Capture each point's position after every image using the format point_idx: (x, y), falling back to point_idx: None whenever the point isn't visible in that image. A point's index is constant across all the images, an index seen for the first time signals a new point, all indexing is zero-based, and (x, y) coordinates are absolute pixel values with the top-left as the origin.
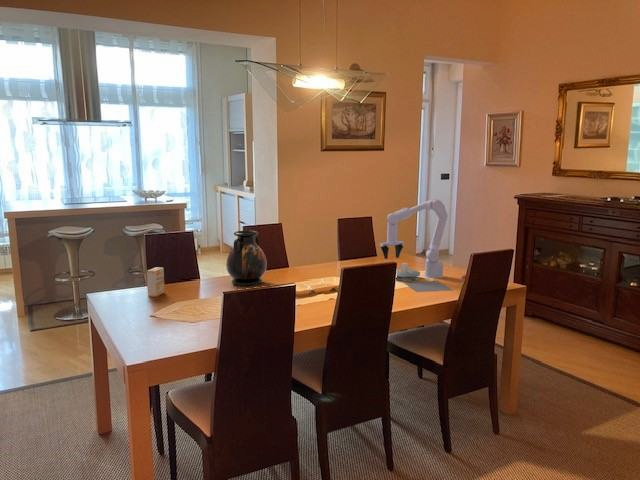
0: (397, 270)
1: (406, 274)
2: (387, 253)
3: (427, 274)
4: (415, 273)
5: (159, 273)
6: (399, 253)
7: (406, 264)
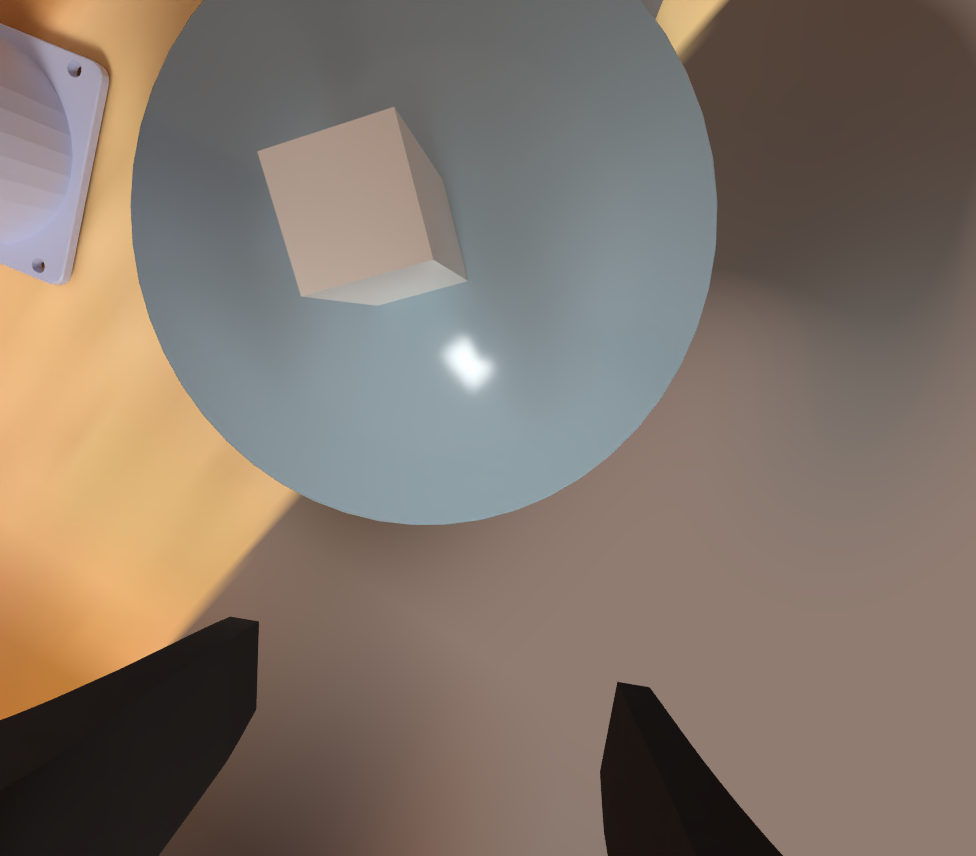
0: (431, 430)
1: (509, 54)
2: (697, 826)
3: (33, 111)
4: (292, 35)
5: None
6: (115, 682)
7: (353, 128)
